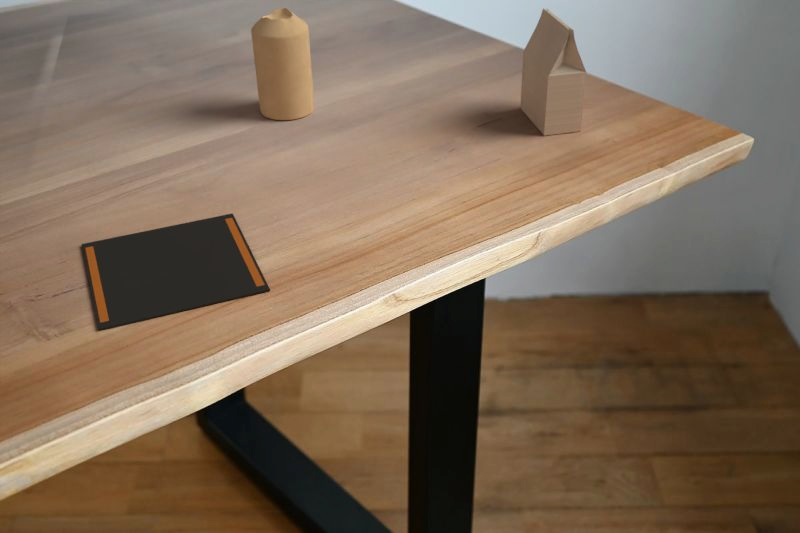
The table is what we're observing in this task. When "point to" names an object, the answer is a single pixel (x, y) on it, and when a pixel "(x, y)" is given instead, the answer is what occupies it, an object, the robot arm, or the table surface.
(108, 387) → the table surface
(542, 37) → the tan gable-top carton
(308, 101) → the candle
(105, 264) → the mat
